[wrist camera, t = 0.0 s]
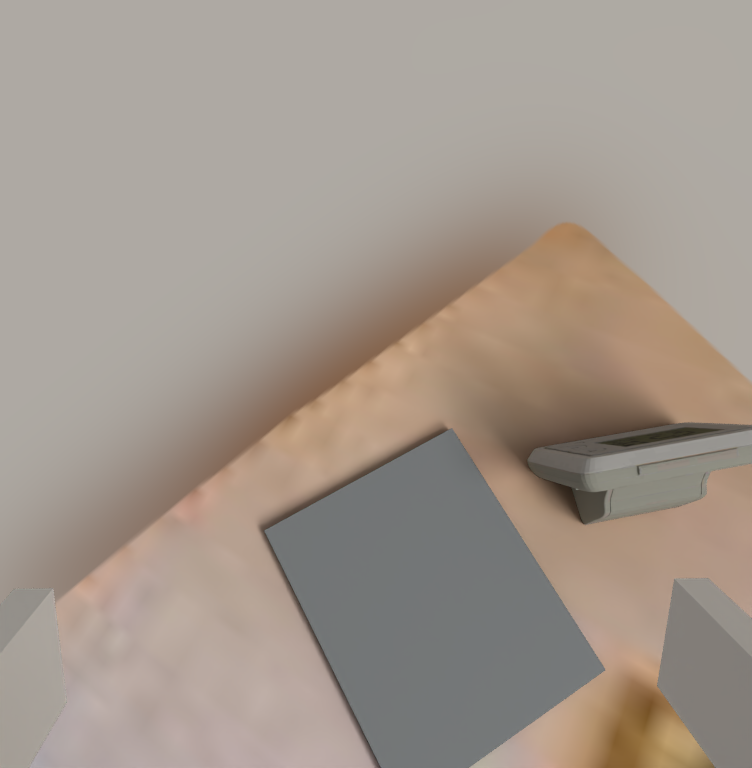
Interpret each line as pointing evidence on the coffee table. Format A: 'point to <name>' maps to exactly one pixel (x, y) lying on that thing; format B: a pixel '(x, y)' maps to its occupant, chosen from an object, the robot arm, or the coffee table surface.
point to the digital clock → (642, 467)
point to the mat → (431, 609)
